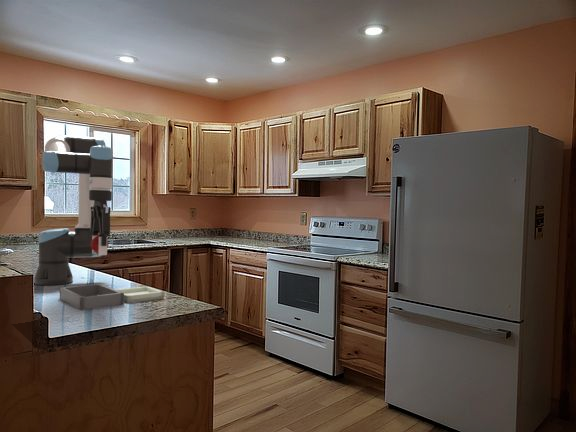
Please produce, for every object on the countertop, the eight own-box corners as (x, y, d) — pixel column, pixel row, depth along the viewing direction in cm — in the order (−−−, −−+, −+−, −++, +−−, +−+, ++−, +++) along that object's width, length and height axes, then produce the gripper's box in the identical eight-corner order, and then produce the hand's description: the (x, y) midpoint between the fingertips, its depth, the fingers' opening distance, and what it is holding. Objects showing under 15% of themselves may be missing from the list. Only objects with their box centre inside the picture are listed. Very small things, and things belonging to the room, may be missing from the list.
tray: (111, 296, 169) (111, 289, 168) (146, 292, 178) (147, 286, 178) (127, 303, 158) (127, 296, 158) (163, 298, 168) (163, 291, 168)
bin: (59, 298, 163) (59, 287, 163) (99, 294, 173) (100, 283, 172) (80, 310, 146) (80, 298, 146) (123, 304, 156) (123, 293, 156)
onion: (110, 254, 163) (111, 232, 163) (104, 256, 158) (104, 233, 157) (94, 253, 163) (95, 232, 163) (87, 255, 157) (88, 233, 157)
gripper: (81, 189, 164) (80, 252, 165) (99, 189, 150) (97, 257, 151) (102, 190, 169) (100, 251, 170) (121, 190, 155) (120, 256, 156)
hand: (99, 254), depth 160 cm, fingers closed on onion, 6 cm apart
